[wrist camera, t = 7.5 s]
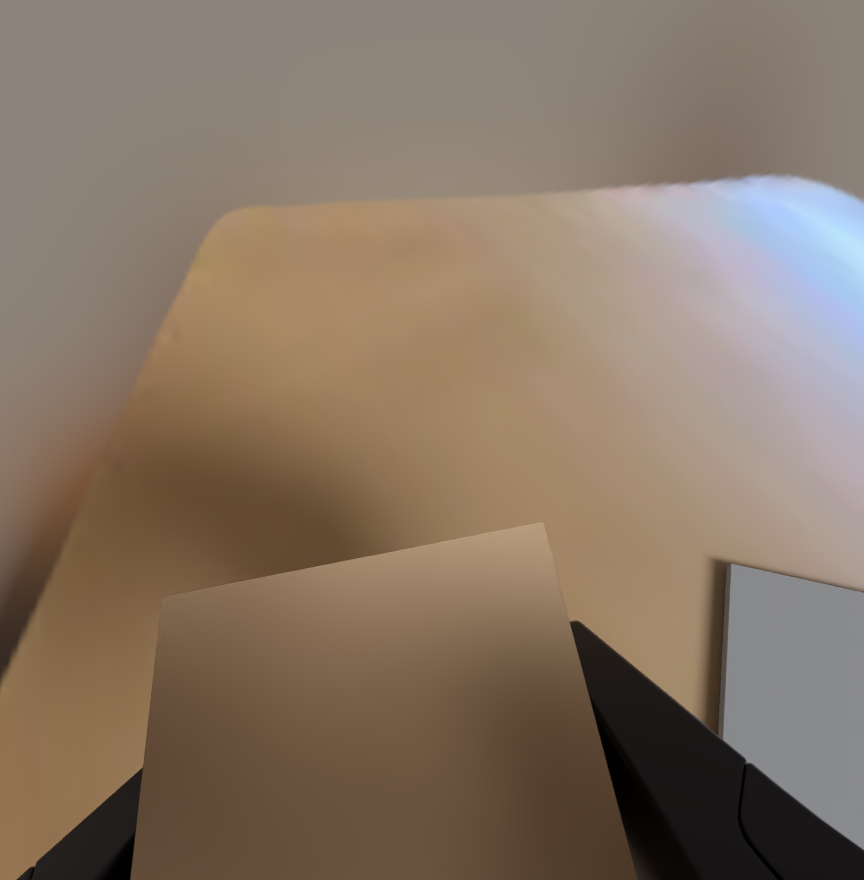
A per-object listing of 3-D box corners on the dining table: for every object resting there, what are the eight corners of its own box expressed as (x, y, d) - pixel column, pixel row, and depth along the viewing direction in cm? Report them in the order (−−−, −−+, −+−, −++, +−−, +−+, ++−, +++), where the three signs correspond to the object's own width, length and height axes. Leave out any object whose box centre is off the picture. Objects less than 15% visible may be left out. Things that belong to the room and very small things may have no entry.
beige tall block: (588, 839, 12) (712, 1163, 4) (390, 866, 13) (92, 1212, 4) (538, 625, 15) (543, 521, 6) (373, 654, 15) (161, 597, 7)
